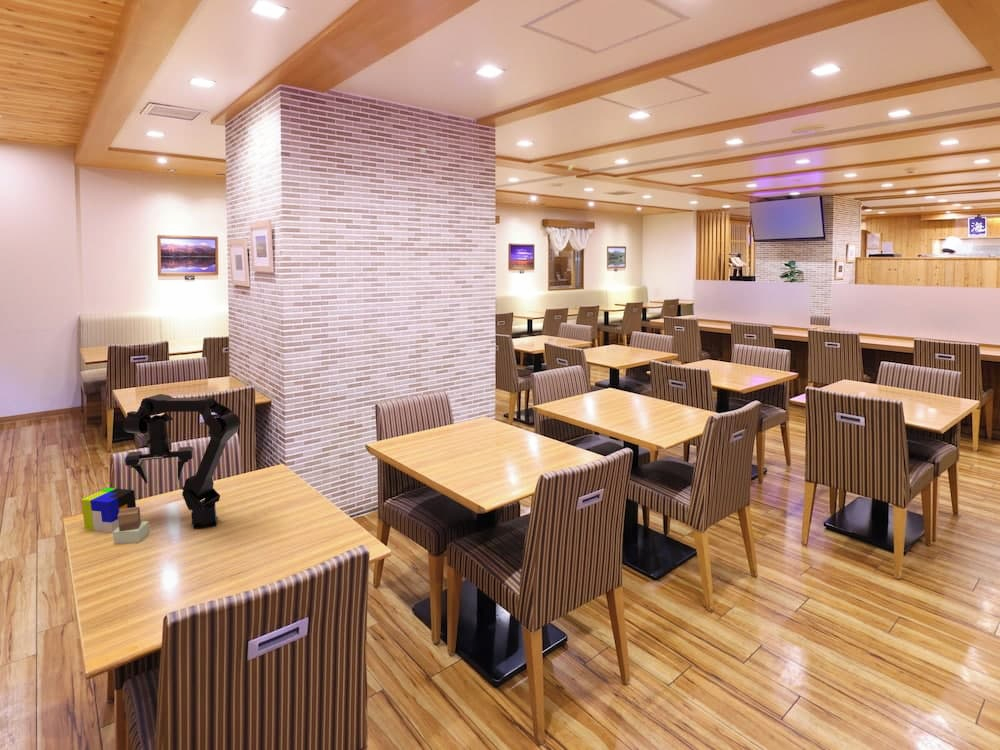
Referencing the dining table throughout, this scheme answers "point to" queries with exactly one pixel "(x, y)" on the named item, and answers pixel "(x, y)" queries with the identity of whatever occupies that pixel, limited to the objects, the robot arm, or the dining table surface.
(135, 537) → the base block
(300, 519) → the dining table surface
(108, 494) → the puzzle toy
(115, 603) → the dining table surface
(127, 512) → the walnut cube
